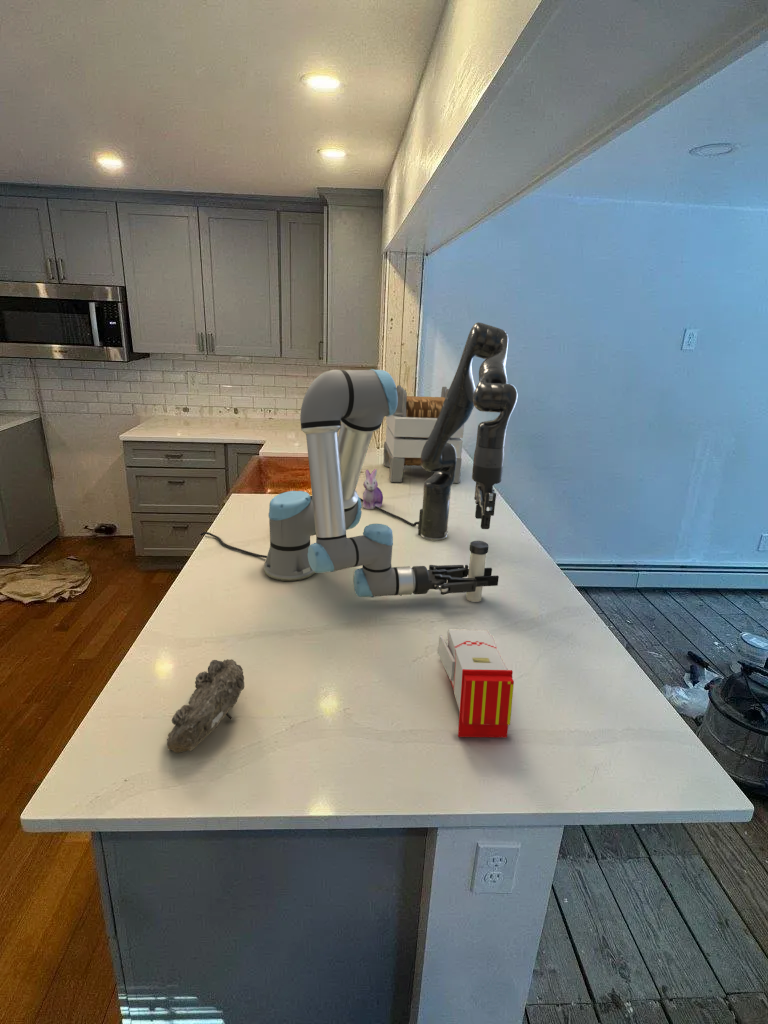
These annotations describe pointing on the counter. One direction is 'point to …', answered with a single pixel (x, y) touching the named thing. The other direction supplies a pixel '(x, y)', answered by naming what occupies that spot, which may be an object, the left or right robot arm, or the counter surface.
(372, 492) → the figurine
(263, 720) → the counter surface
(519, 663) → the counter surface
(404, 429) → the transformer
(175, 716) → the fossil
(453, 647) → the toy
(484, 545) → the lid
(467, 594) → the jar
